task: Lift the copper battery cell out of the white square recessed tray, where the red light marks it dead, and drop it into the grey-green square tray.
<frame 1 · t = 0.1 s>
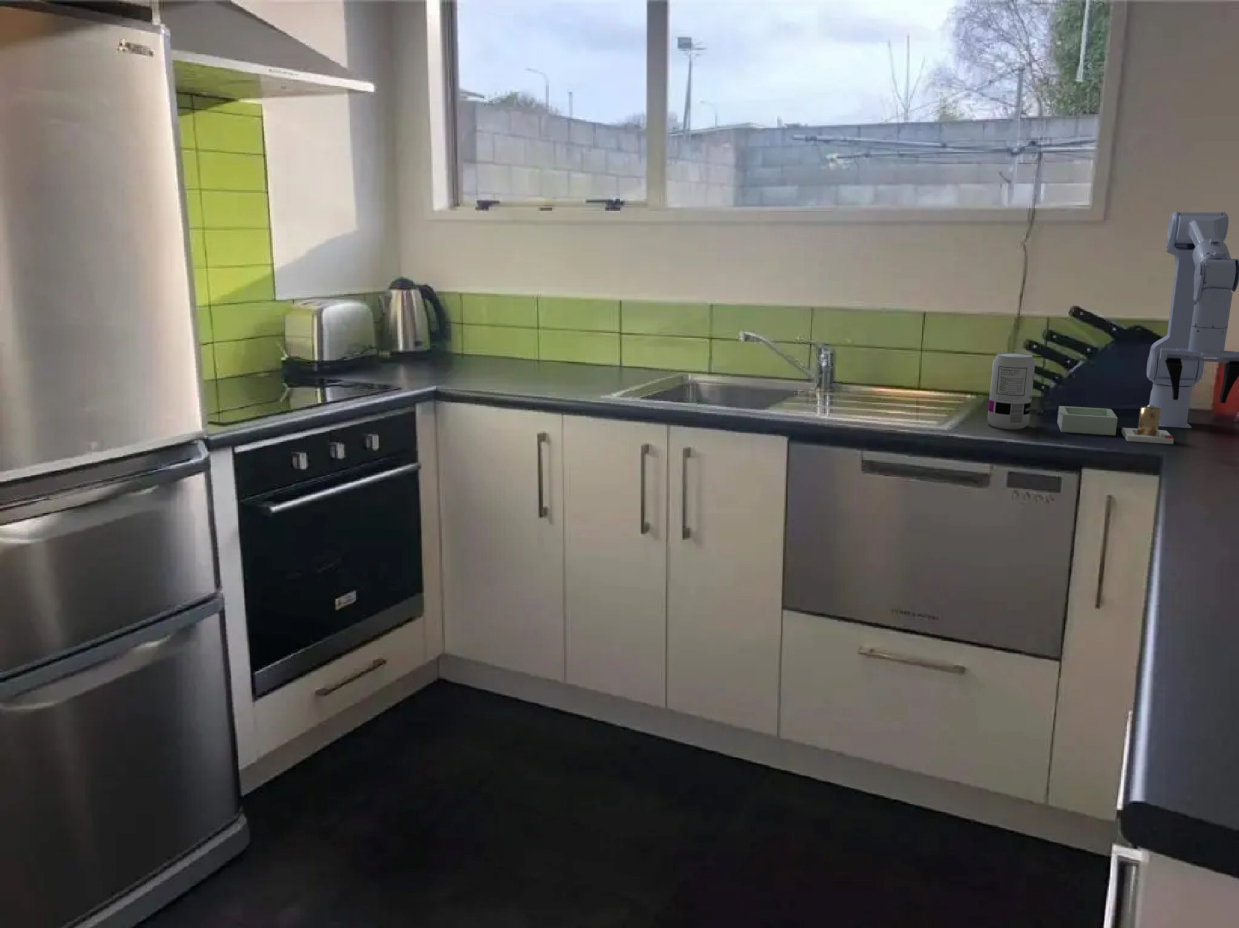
hand: (1198, 400, 186), 10 cm above the countertop, tool pointing down, fingers open, 7 cm apart
supplement can: (1007, 426, 212), on the countertop
cell: (1146, 438, 199), resting on white square recessed tray
grey-green square tray: (1085, 430, 208), on the countertop
white square recessed tray: (1146, 440, 199), on the countertop
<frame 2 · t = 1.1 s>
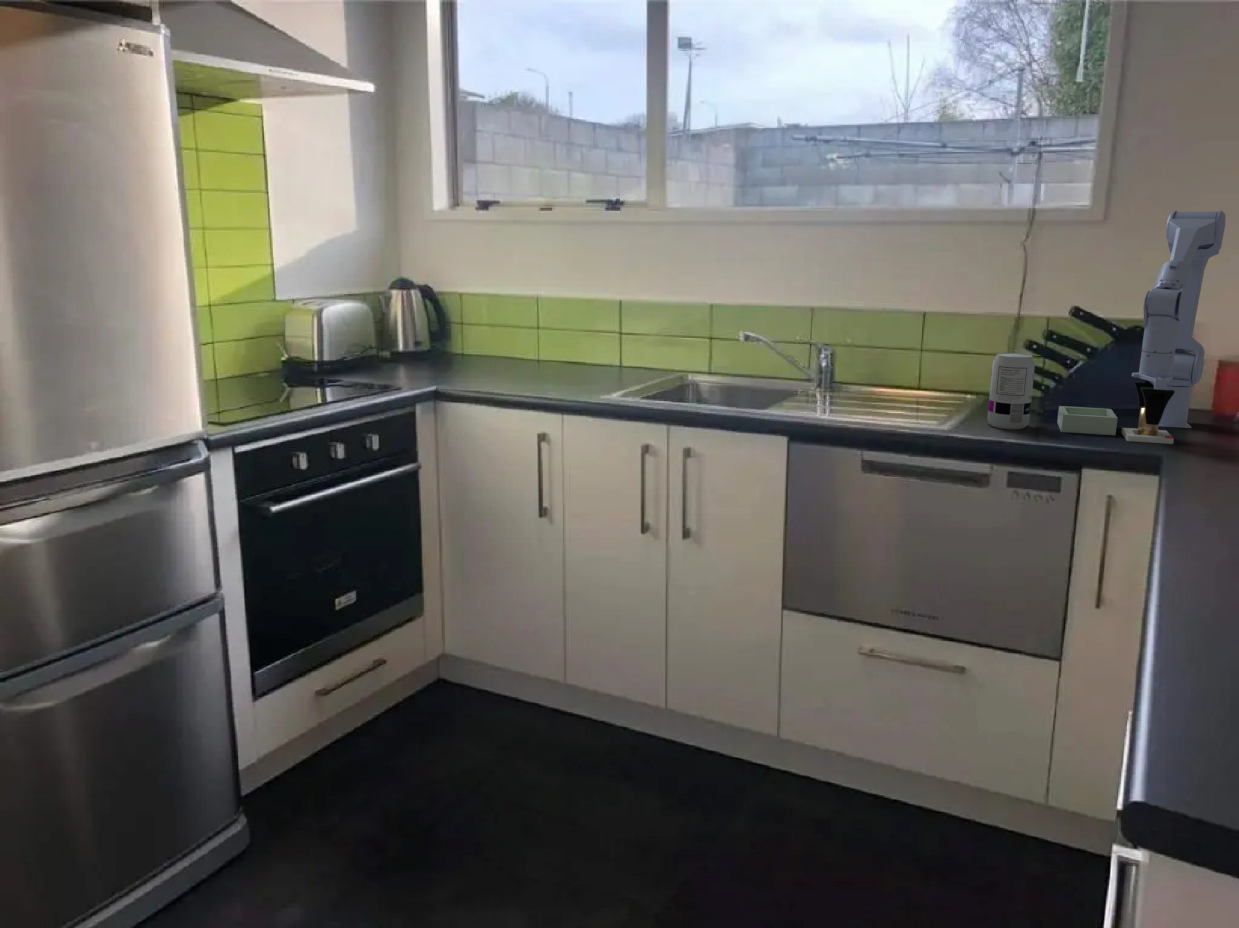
hand: (1148, 420, 198), 4 cm above the countertop, tool pointing down, fingers open, 7 cm apart
nothing on the countertop moved.
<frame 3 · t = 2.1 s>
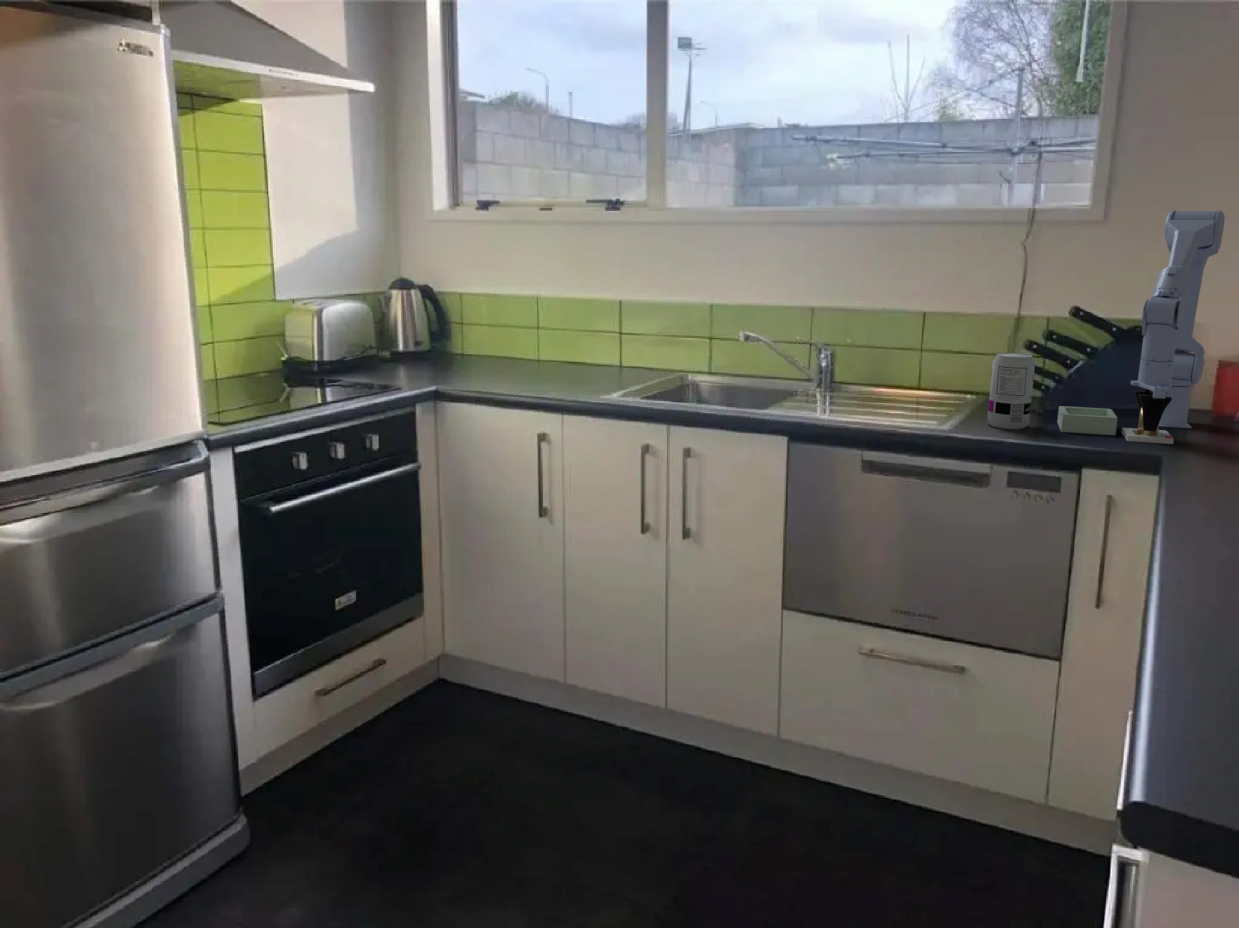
hand: (1148, 428, 198), 2 cm above the countertop, tool pointing down, fingers closed on cell, 3 cm apart
cell: (1146, 438, 199), resting on white square recessed tray, touching gripper
everything else where it was.
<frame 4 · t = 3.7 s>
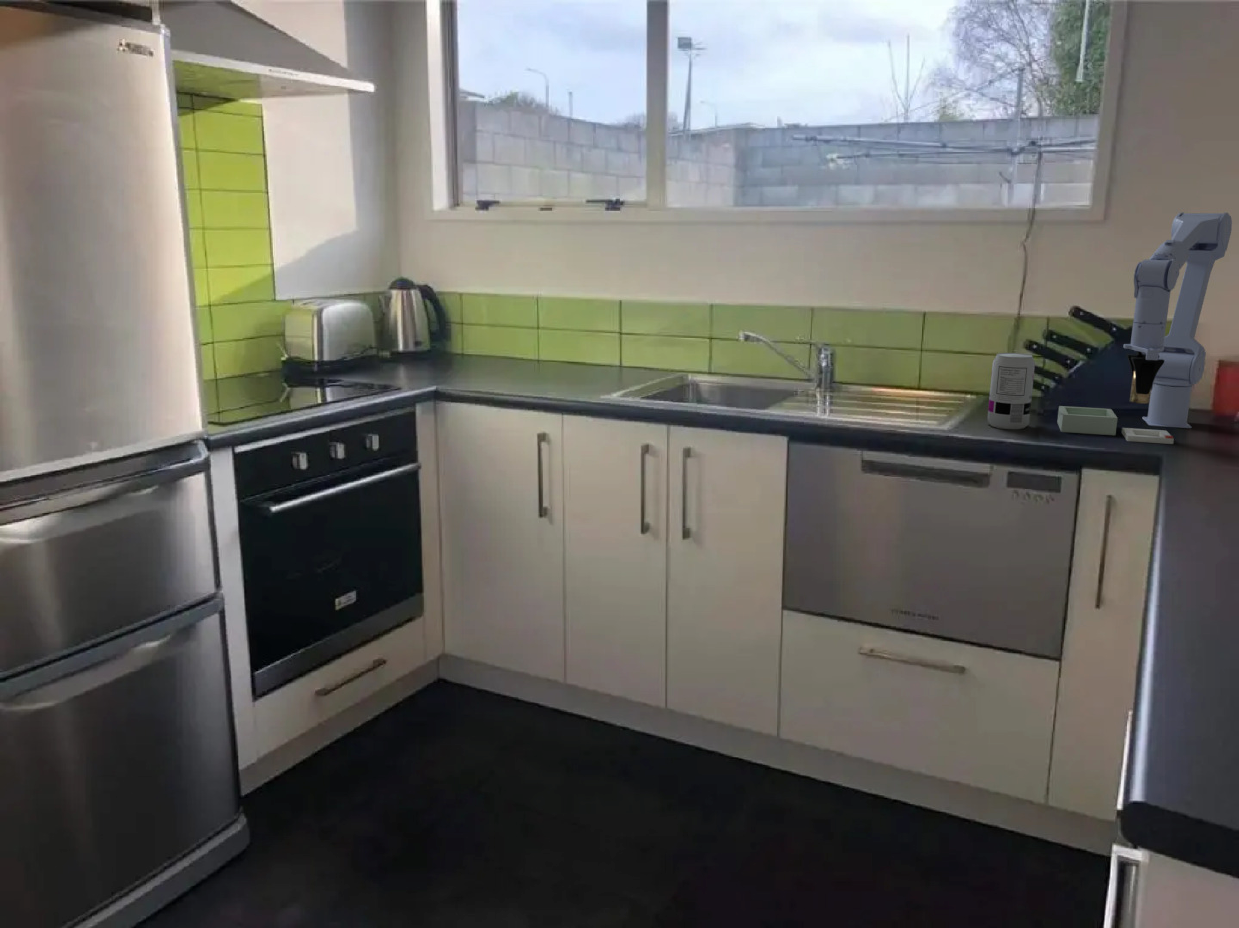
hand: (1140, 392, 198), 9 cm above the countertop, tool pointing down, fingers closed on cell, 3 cm apart
cell: (1139, 401, 199), point 7 cm above the countertop, touching gripper
everything else where it was.
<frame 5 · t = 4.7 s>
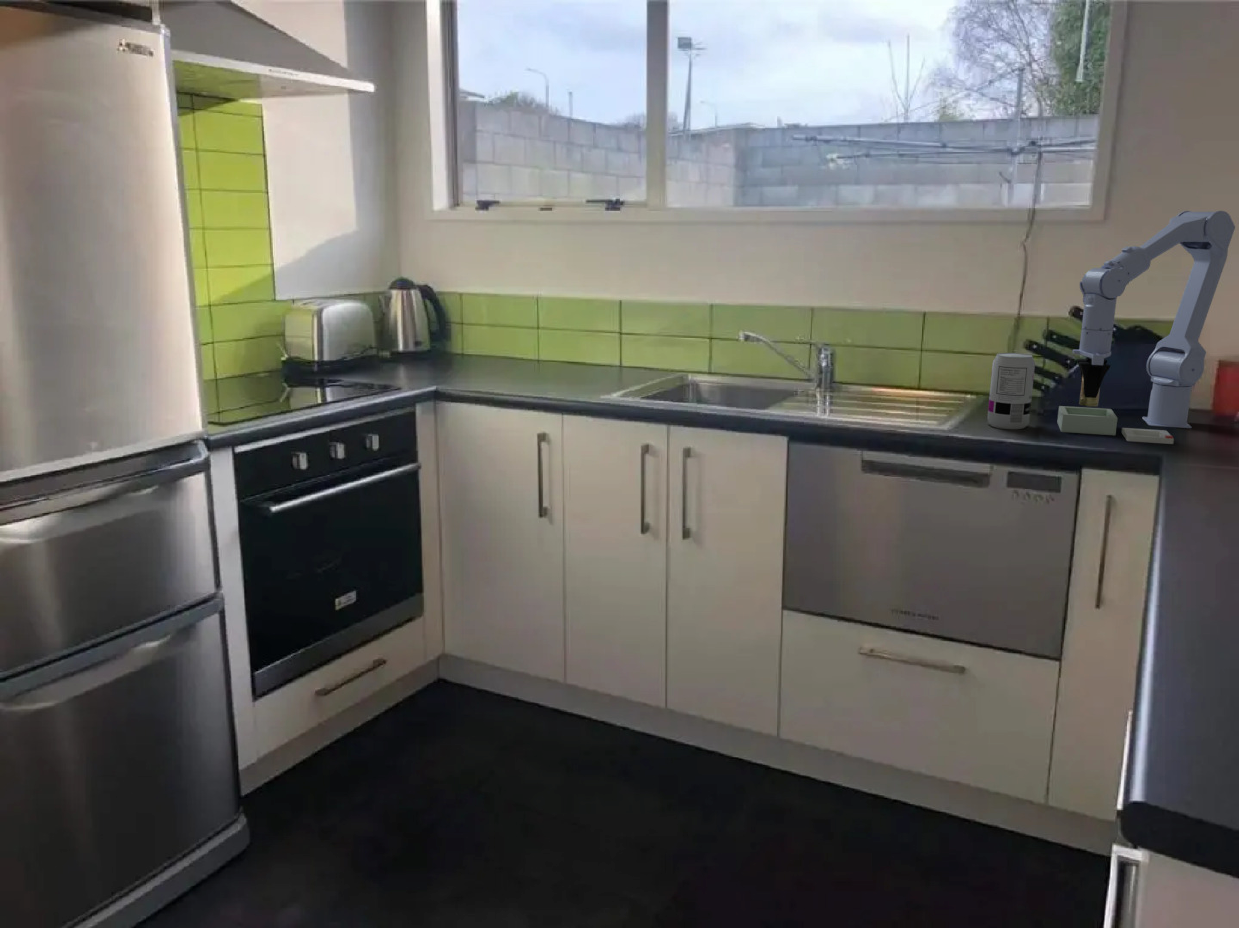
hand: (1089, 395, 206), 7 cm above the countertop, tool pointing down, fingers closed on cell, 3 cm apart
cell: (1088, 404, 206), point 5 cm above the countertop, touching gripper
everything else where it was.
when the fingers open (5 cm above the countertop, at t = 5.5 s): cell drops 2 cm, resting on grey-green square tray.
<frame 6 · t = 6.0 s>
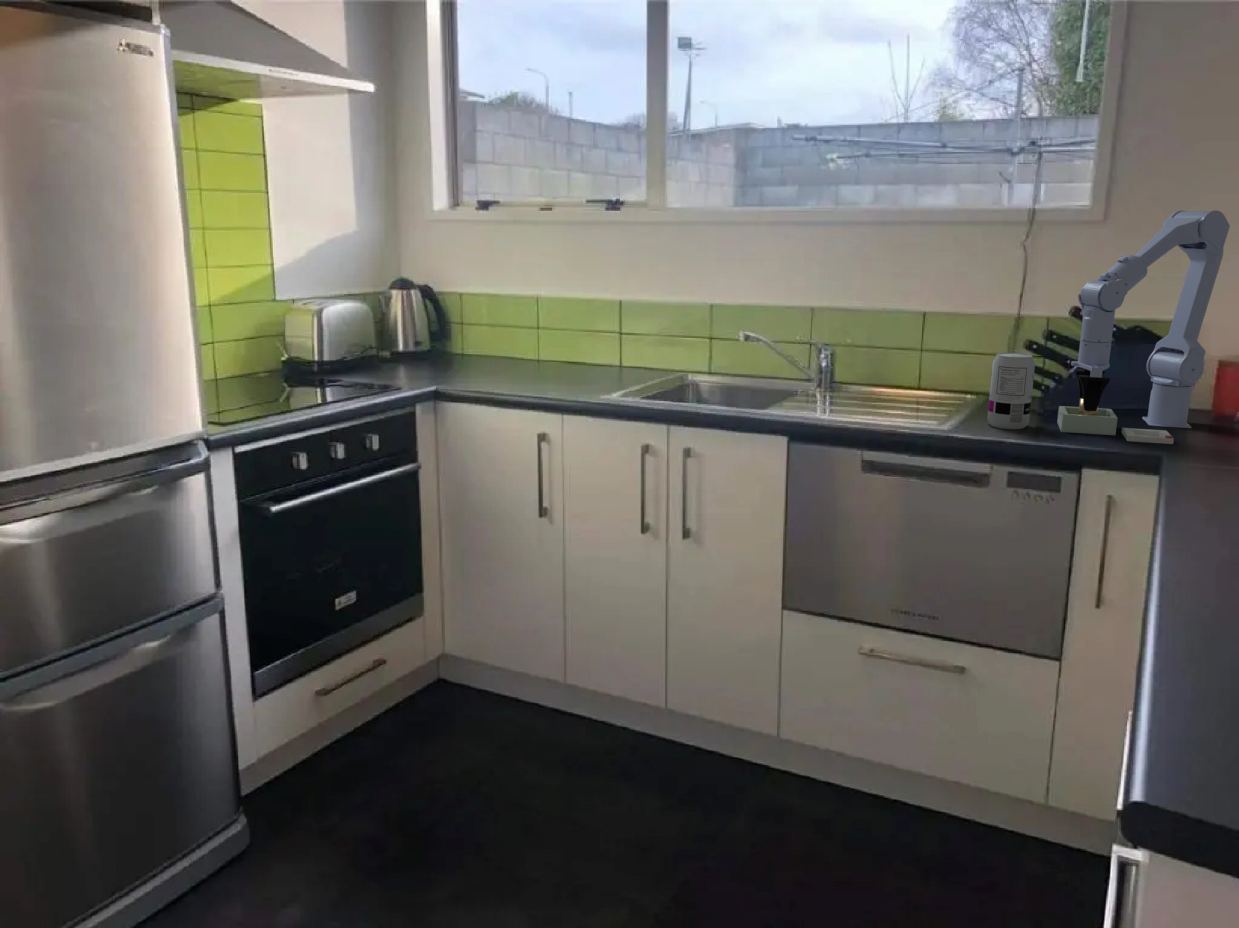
hand: (1087, 407, 206), 5 cm above the countertop, tool pointing down, fingers open, 7 cm apart
cell: (1085, 428, 207), point 1 cm above the countertop, touching grey-green square tray
everything else where it was.
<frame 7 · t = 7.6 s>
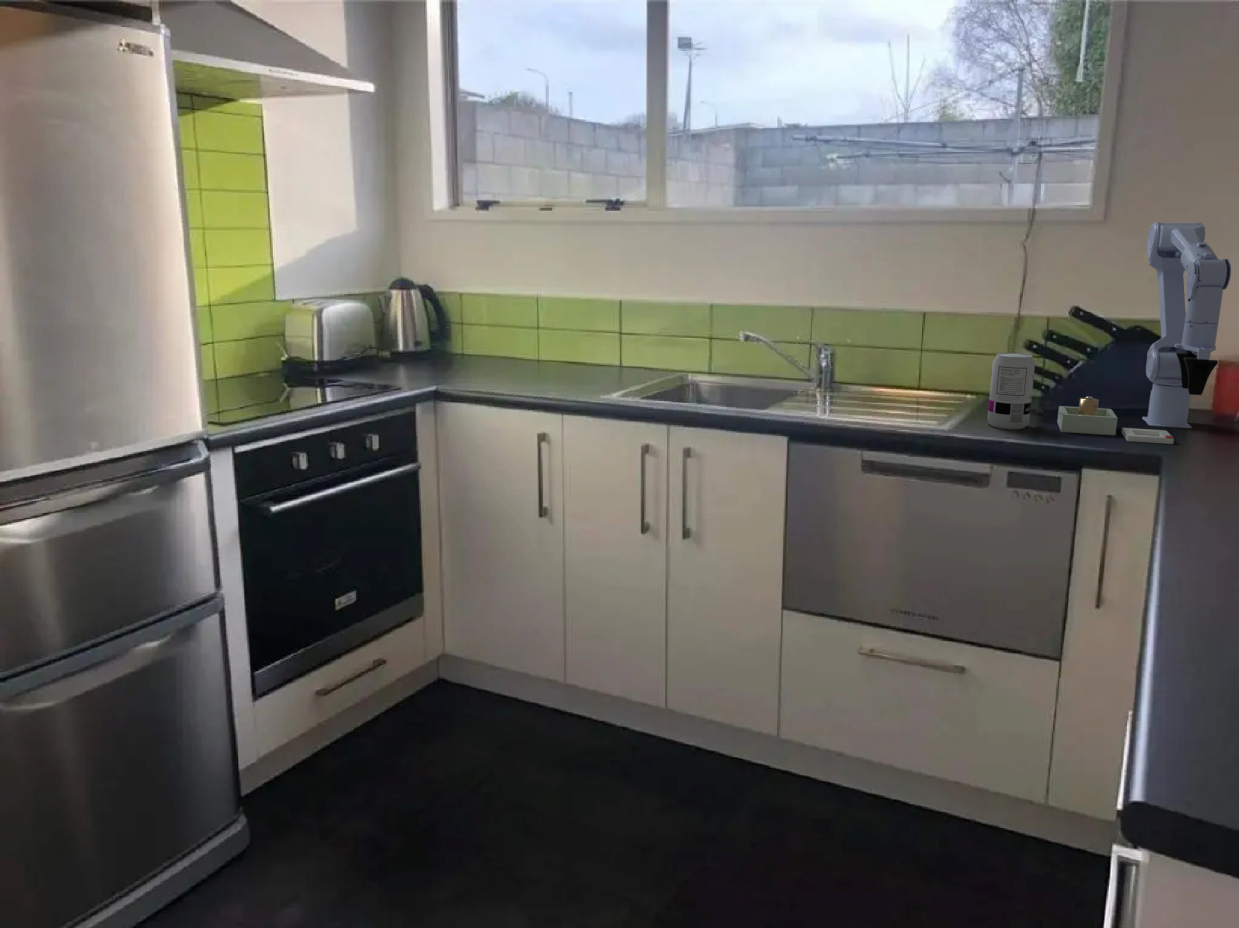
hand: (1191, 391, 199), 9 cm above the countertop, tool pointing down, fingers open, 7 cm apart
nothing on the countertop moved.
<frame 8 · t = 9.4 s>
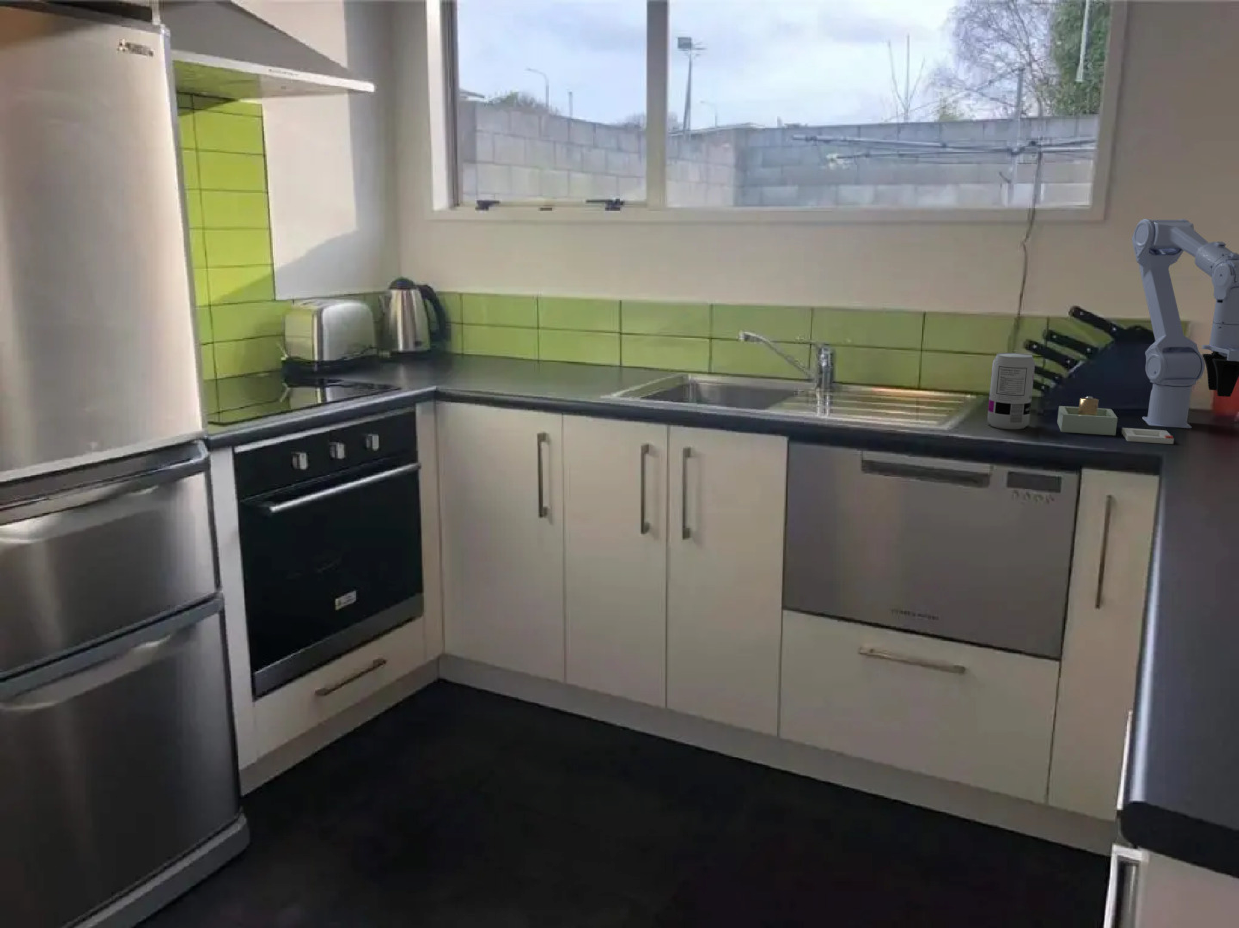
hand: (1219, 393, 197), 9 cm above the countertop, tool pointing down, fingers open, 7 cm apart
nothing on the countertop moved.
at the end: cell inside the target area on the grey-green square tray (0.1 cm from its centre), point 0.6 cm above the grey-green square tray's base; the gripper is holding nothing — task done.
